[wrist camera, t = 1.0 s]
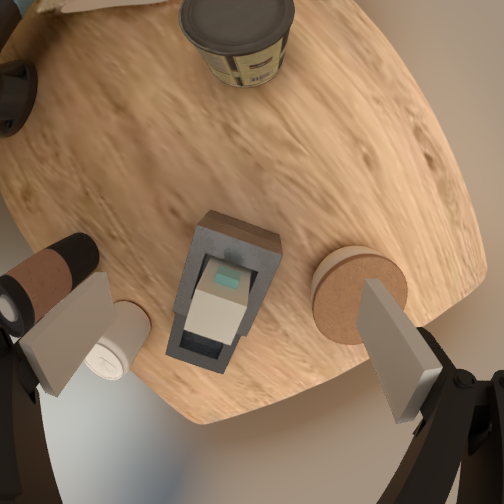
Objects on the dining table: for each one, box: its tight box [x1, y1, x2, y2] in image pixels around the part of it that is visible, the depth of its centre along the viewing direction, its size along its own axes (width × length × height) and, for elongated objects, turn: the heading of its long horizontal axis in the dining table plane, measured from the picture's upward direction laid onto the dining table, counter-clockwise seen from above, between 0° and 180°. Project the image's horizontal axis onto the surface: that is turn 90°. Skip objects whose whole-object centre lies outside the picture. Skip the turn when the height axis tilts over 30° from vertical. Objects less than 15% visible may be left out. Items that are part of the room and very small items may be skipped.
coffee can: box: [179, 0, 295, 88], centre depth 24 cm, size 10×10×14 cm
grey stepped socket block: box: [165, 210, 283, 374], centre depth 39 cm, size 10×24×8 cm, turn 160°
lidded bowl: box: [311, 245, 408, 345], centre depth 36 cm, size 13×13×11 cm
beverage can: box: [84, 301, 151, 380], centre depth 40 cm, size 8×8×12 cm
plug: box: [184, 255, 251, 345], centre depth 32 cm, size 5×6×11 cm
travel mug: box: [0, 233, 99, 338], centre depth 32 cm, size 8×8×20 cm
